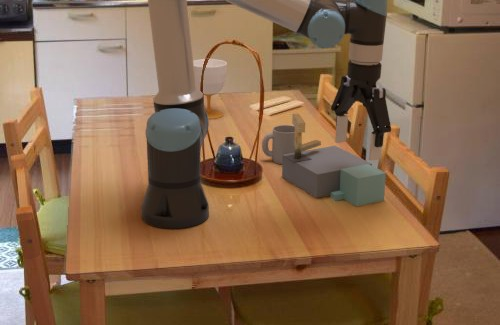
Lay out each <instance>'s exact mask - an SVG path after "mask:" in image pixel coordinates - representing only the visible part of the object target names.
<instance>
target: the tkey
mask: <svg viewBox="0 0 500 325" xmlns="http://www.w3.org/2000/svg"><path fill="white" fill-rule="evenodd" d="M291 117H292V122H291V123H292V126H295V143H294V158H301V152H303V151H307V150H312V149H313V148H314V149H315V148H317V147H320V146H321V145H322V141H321V140H318V139H314V140H311V141H307V142H305V143H303V133H306V122H305V120H304V119H303V117H302V116H301V114H300V113H292V116H291Z"/></svg>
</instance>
